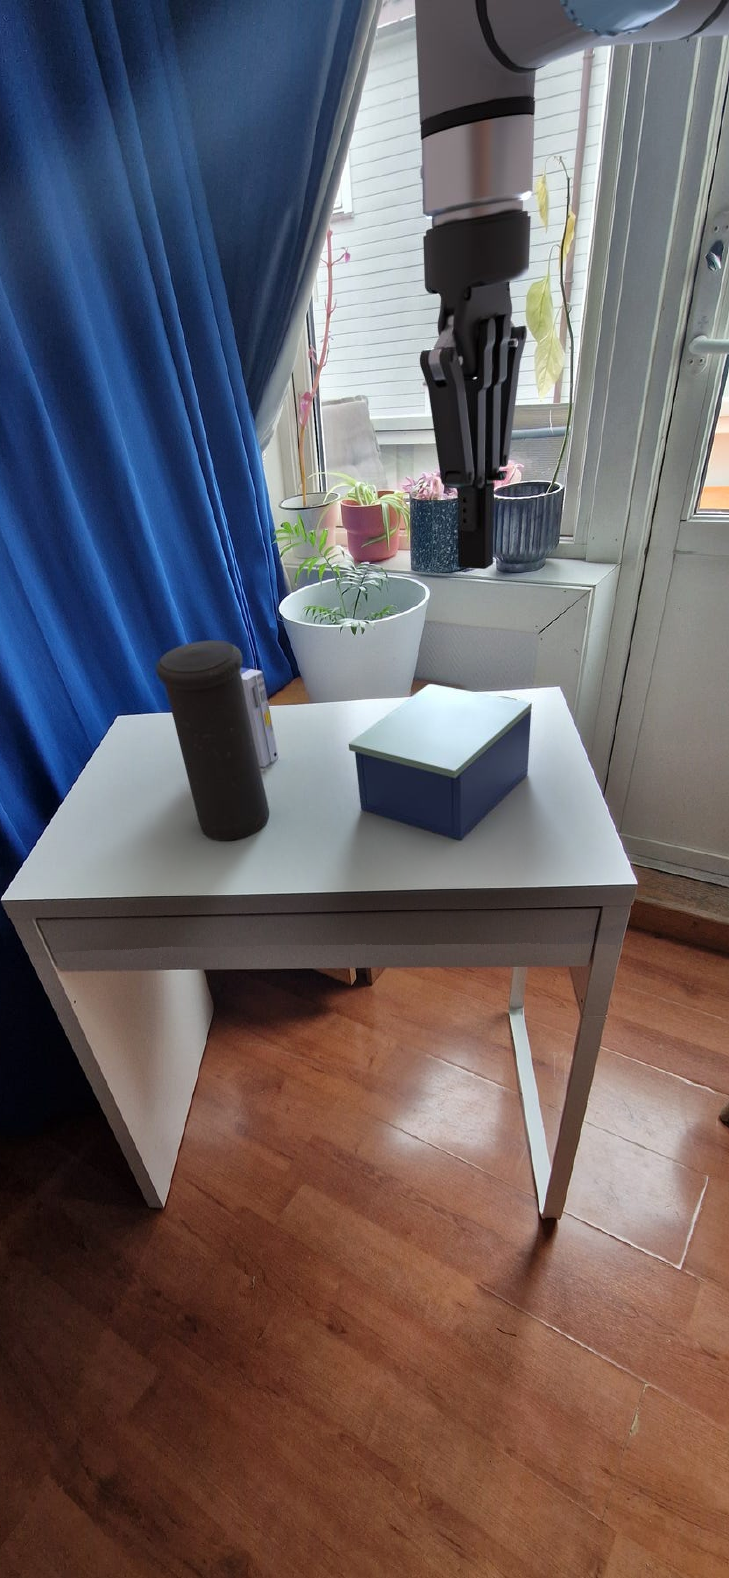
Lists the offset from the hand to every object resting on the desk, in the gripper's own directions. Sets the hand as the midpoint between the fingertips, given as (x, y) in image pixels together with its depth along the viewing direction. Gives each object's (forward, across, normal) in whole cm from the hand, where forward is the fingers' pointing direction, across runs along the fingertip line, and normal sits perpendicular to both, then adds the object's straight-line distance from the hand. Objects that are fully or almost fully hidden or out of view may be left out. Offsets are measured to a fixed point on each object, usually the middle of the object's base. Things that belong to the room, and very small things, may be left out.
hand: (475, 565), depth 68 cm
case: (+24, 0, -4) cm, 25 cm away
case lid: (+16, +1, -3) cm, 17 cm away
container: (+25, +16, -22) cm, 37 cm away
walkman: (+24, +4, -31) cm, 39 cm away
